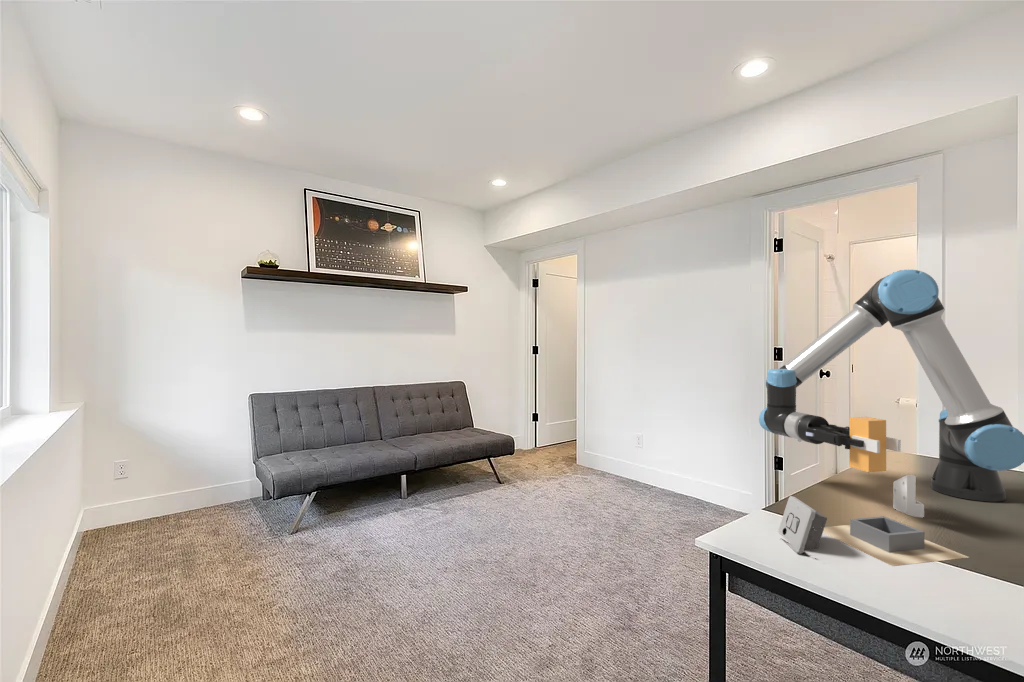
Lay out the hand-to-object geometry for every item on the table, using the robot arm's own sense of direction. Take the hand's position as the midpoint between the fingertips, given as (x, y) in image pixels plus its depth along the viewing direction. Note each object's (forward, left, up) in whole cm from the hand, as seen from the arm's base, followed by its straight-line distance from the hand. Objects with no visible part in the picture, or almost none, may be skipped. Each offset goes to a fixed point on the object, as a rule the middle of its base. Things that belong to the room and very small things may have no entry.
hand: (888, 446), depth 111 cm
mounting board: (+11, +9, -18) cm, 23 cm away
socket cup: (+11, +9, -17) cm, 22 cm away
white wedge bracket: (-13, -6, -19) cm, 24 cm away
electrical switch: (+28, +5, -19) cm, 34 cm away
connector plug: (0, -5, -7) cm, 8 cm away
